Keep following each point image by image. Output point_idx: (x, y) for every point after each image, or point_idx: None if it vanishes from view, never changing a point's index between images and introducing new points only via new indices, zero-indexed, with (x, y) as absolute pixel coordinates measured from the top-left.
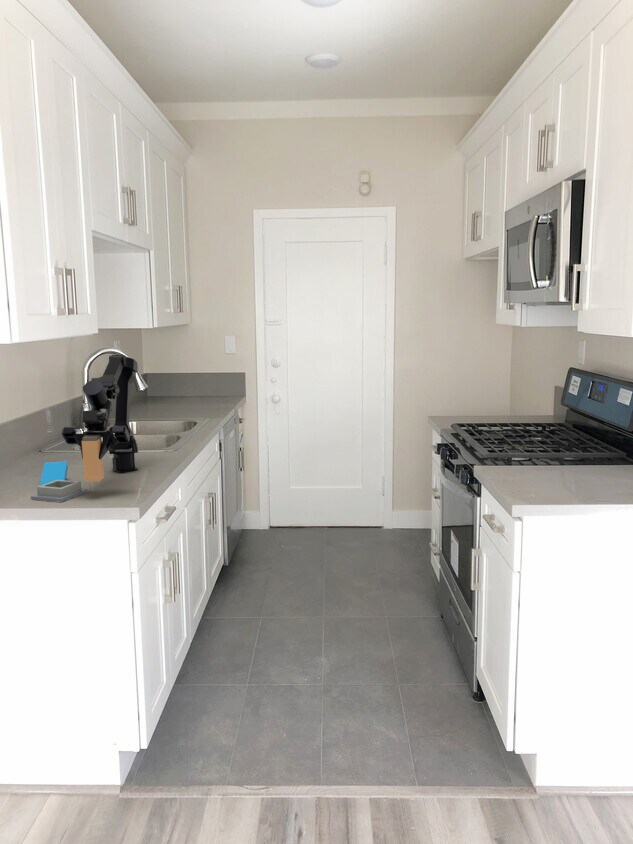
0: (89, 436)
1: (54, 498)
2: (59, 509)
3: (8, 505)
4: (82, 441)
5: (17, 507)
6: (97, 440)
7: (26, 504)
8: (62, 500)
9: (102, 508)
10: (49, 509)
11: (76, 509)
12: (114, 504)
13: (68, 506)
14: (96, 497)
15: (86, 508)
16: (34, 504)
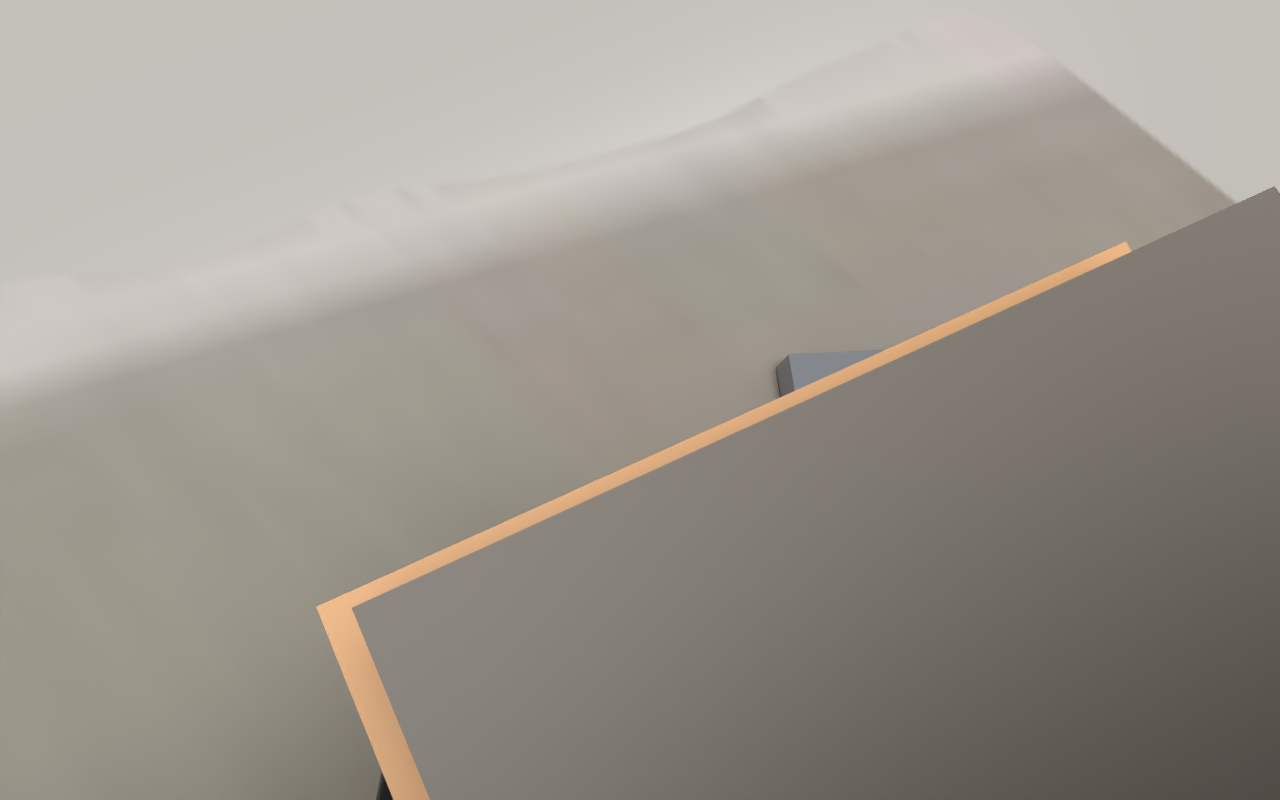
0: (1261, 760)
1: (881, 350)
2: (595, 168)
3: (1148, 141)
4: (1089, 270)
5: (1022, 115)
6: (396, 773)
7: (1038, 210)
8: (783, 375)
9: (131, 331)
10: (692, 142)
11: (417, 215)
12: (76, 520)
13: (588, 277)
14: None
15: (330, 276)
16: (971, 231)
